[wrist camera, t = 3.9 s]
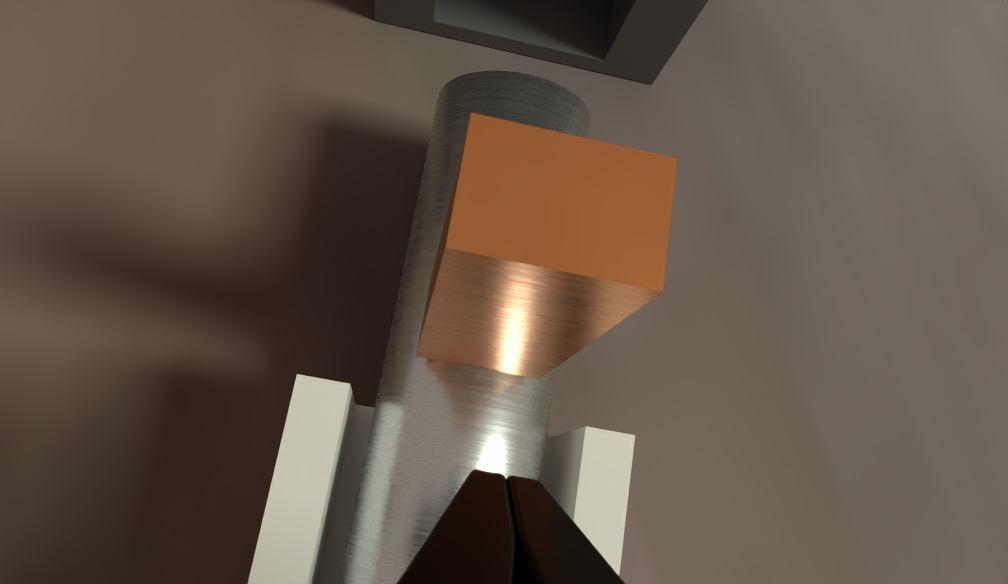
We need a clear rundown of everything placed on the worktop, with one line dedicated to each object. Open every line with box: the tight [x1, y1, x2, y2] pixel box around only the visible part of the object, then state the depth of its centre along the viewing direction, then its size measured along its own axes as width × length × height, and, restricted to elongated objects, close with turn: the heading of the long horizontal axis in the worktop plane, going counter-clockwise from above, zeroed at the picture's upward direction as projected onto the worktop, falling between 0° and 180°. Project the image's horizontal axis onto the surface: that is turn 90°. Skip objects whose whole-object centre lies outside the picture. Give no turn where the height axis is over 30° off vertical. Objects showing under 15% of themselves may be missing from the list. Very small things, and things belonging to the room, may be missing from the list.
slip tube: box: [339, 71, 677, 584], centre depth 13 cm, size 16×4×10 cm, turn 171°
